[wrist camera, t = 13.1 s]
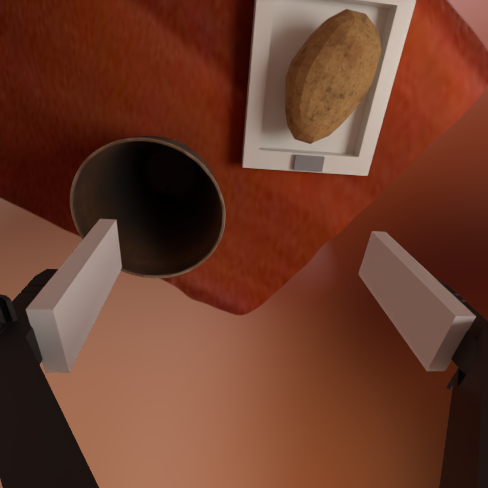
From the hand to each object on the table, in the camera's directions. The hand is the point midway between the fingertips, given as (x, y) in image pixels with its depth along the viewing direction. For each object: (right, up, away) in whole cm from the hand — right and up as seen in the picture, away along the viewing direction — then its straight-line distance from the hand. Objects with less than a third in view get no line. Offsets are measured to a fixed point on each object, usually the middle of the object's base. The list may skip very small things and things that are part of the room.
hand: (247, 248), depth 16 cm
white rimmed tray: (+9, +21, +24) cm, 34 cm away
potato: (+9, +21, +24) cm, 33 cm away
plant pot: (-11, +11, +29) cm, 32 cm away
